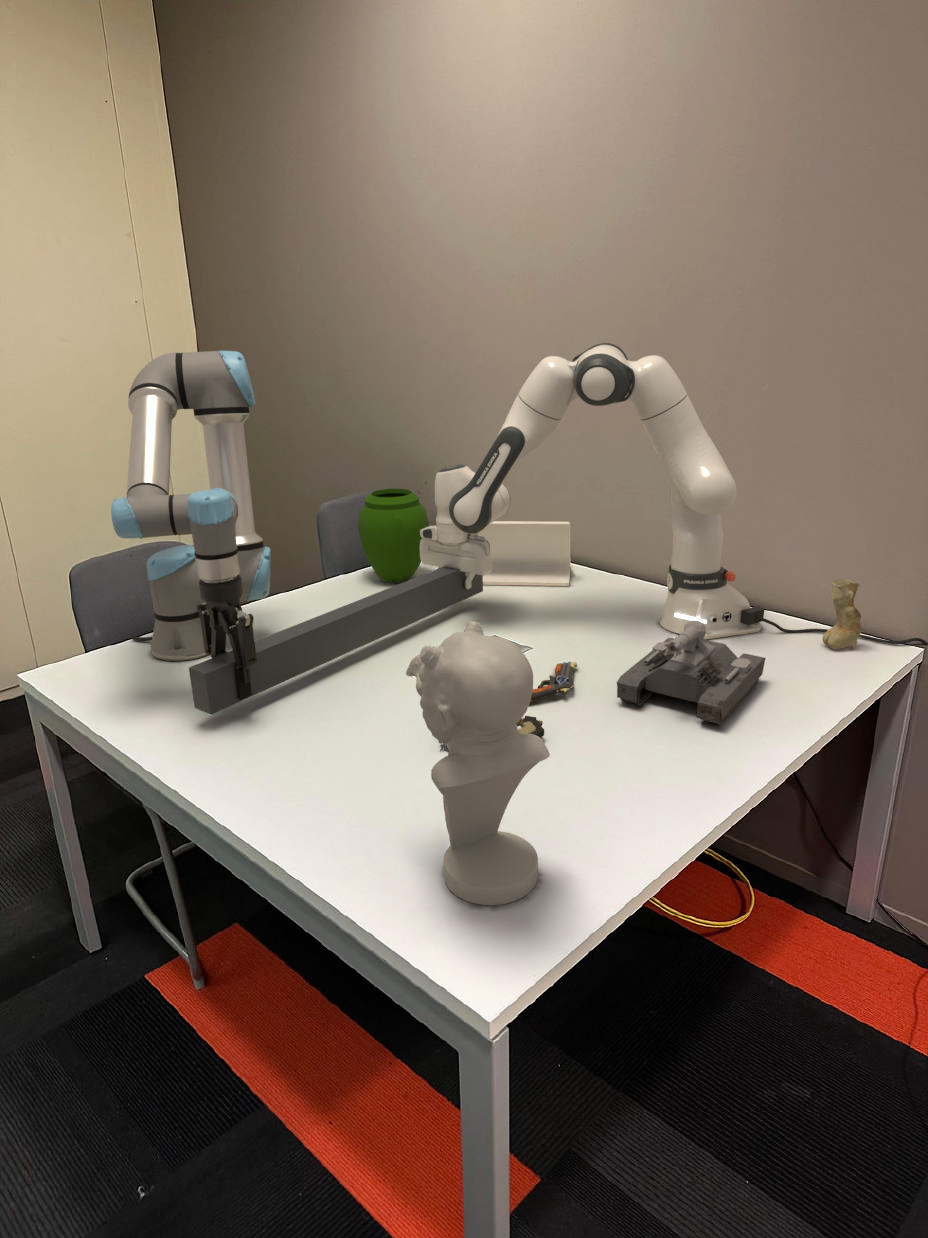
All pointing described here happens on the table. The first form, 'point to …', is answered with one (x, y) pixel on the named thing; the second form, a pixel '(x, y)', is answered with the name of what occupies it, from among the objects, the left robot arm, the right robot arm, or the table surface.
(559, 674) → the toy gun
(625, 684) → the toy
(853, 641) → the sculpture
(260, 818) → the table surface
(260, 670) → the beam
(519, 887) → the bust sculpture
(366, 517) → the vase
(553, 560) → the tablet stand
